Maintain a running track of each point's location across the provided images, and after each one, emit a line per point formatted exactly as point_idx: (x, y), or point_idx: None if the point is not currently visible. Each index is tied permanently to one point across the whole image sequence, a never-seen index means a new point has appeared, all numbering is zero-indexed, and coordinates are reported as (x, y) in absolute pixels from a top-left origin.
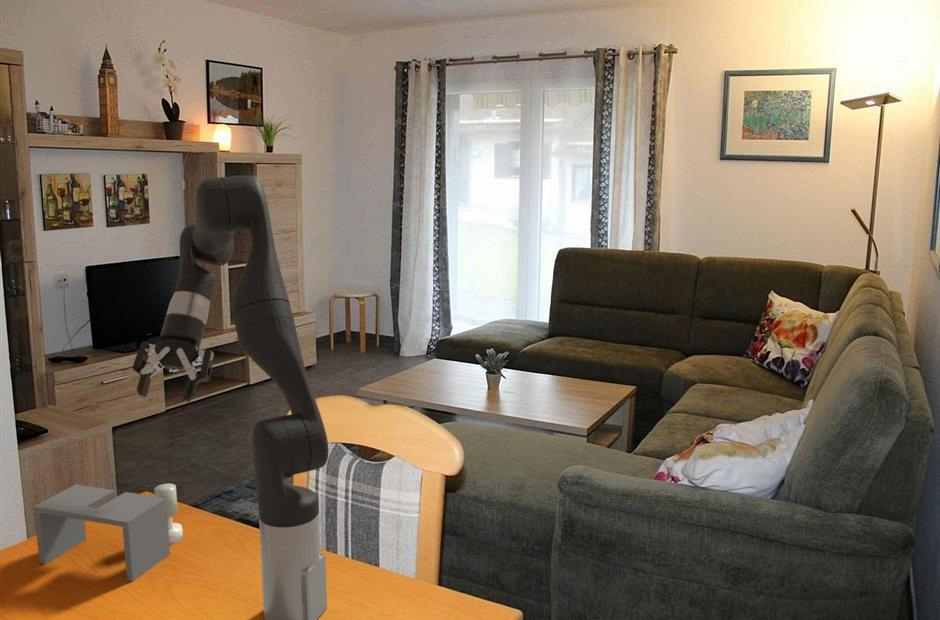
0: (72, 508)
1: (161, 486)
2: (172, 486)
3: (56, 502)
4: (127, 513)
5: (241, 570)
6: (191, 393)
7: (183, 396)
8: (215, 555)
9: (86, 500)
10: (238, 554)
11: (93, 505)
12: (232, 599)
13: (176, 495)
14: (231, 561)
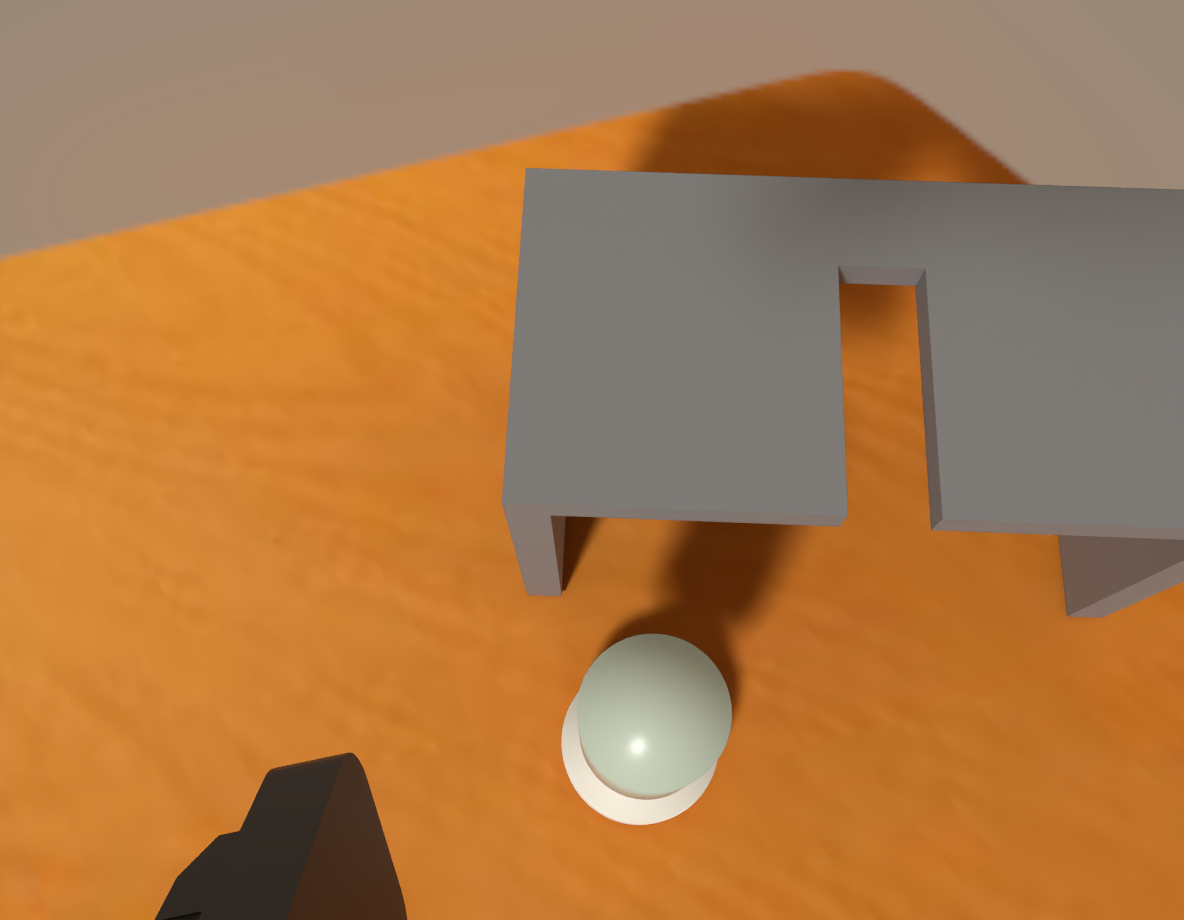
0: (983, 226)
1: (696, 724)
2: (613, 746)
3: (1151, 267)
4: (605, 256)
5: (94, 555)
6: (187, 895)
7: (343, 769)
8: (292, 654)
9: (994, 337)
10: (174, 696)
11: (924, 336)
12: (40, 335)
13: (591, 763)
14: (181, 620)
